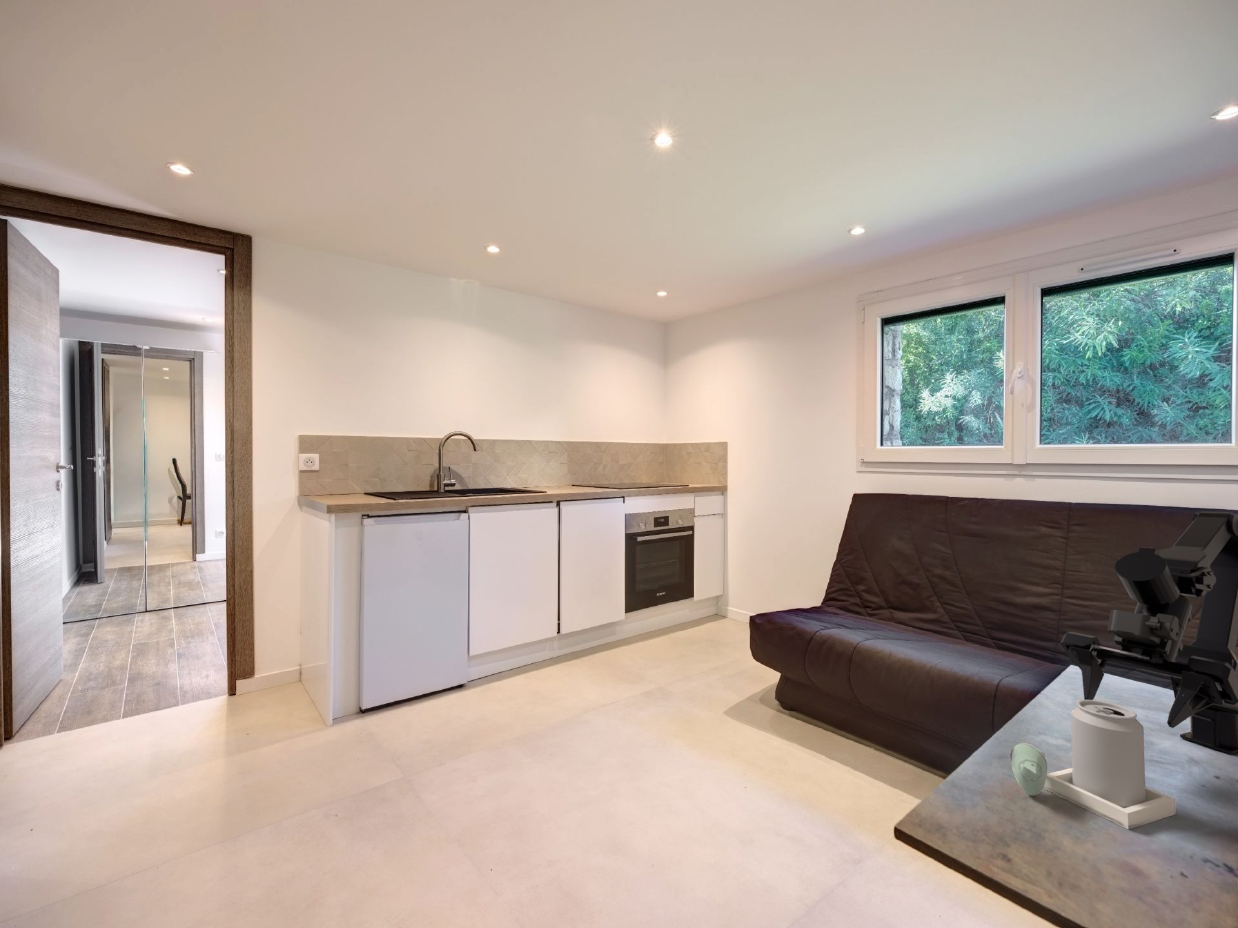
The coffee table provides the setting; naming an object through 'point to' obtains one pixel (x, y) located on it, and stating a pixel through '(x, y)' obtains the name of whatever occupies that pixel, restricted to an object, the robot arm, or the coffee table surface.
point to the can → (1108, 752)
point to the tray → (1124, 817)
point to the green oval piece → (1029, 767)
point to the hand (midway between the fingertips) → (1126, 713)
